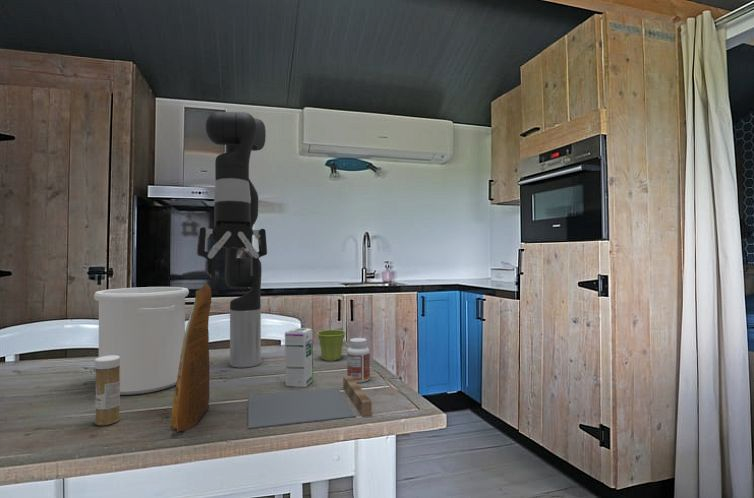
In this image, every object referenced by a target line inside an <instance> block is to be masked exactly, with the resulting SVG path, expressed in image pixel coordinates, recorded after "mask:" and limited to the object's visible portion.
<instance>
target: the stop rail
mask: <svg viewBox="0 0 754 498" xmlns="http://www.w3.org/2000/svg"><path fill="white" fill-rule="evenodd" d="M342 379H343V381H342V382H343V386H342V388H343V390H344V391H345V393H346V394H347V396H348V397H349V399H350V400H351V401H352V403H353V405H354V406H355V408H356V409H357V410H358V412H359V413H360V415H361V416H362V417H369V416H372V413H373V411H372V407H373V405H372V403H373V402H372V401H371V399H370V398H369V396H368V395H367V394H366V393H365V392H364V390H363V389H362V388H361V386H360V385H359V384H358V383H356V382H355V380H354V379H353V378H352V377H351V376H347V375H346V376H342Z"/></svg>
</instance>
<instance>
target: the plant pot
mask: <svg viewBox="0 0 754 498" xmlns="http://www.w3.org/2000/svg"><path fill="white" fill-rule="evenodd" d="M316 335H317V337H318V339H319V345H320V346H319V347H320V351H321V352H320V353H321V359H322V360H324V361H327V362H335V361H336V360H338V361H339V360H341V359H342V352H343V351H342V350H343V344H344V339H345V335H346V331H345V330H341V329H325V330H320V331H318V332H316Z"/></svg>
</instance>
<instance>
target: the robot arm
mask: <svg viewBox="0 0 754 498" xmlns="http://www.w3.org/2000/svg"><path fill="white" fill-rule="evenodd" d="M205 131H206V135H207V137H208V138H209V140H210V141H211V142H212V143H213V144H216V145H221V146H223V145H224V146H225V152H224V153H221V154H218V155H217V156H216V158H215V163H214V164H215V165H214V167H215V174H214V175H215V177H214V178H215V179H214V180H215V183H214V189H213V192H214V193H213V196H214V197H213V198H214V200H213V202H214V204H213V205H214V207H213V211H214V212H213V215H214V217H213V218H214V219H213V220H214V224H213V228H206V227H200V228H199V229H198V233H197V235H198V236H197V250H196V255H197V256H199V257H200V258H201V257H202V258H204V259H206V273H207V275H209V277H210V278H215V277H216V276H215V275H216V266H215V265H216V261H215V260H216V259H214V257H215V256H216V255H217V253H218V252H219V251H220V250H221V248H224V249H226V250H225V264H224V265H225V266H224V281H225V285H226V286H227V287H228V288H249V291H247V292H246V293H245V294H243V295H241V296H239V297H237V298H234V299H231V301H230V303H229V366H230V367H232V368H250V367H251V368H252V367H255V366H258V365H261V363H262V359H261V357H262V356H261V355H262V354H261V351H262V349H261V348H262V347H261V346H262V344H261V341H262V340H261V339H262V338H261V337H262V335H261V333H262V327H261V326H262V323H261V321H262V318H261V317H262V313H261V312H262V311H261V307H262V305H261V300H262V299H261V297H262V295H261V291H262V289H261V287H262V270H263V269H262V262H261V259H260V258H262V257H264V256H266V255H267V254H268V246H267V235H266V232H267V231H266V229H265V228H260V229H253V227H254V225H255V224H256V221H257V220H258V217H259V194H258V192H257V191H258V190H257V189H256V188H255V186H254V184H253V182H252V181H251V180H250V171H249V170H250V159H251V154H252V151H253V152H254V151H255V152H256V151H261V150H262V149H263V148H264V147H265V144H266V133H267V131H266V125H265V123H264V122H263V120H261V119H259V118H255V117H253V115H252V114H250V113H248V112H240V111H239V112H237V111H235V112H233V111H215V112H212V113H210V114H209V115H208V117H207V119H206V121H205ZM211 234H212V236H213V237H214V239H215V240H216V242H215V243H214V245H213V246H212V247H211V248H210V249H209V251H205V250H206V239H209V237H210V235H211ZM253 236H254V238H255V239H256V240H257V243H258V244H257V245H258V251H257V250H256V249H255V247H254V246H253V244H252V243H251V242H250V239H251V238H252V237H253ZM240 249H244V251H245V252H246V253H247V254H248V255H249V257H237V256H238V255H237V254H238V252H239V250H240Z"/></svg>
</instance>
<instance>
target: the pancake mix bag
mask: <svg viewBox="0 0 754 498" xmlns="http://www.w3.org/2000/svg"><path fill="white" fill-rule="evenodd" d="M211 305H212V288H211V286H210V285H209V284H208V283H205V284H203V286H202V287H201V288H200V289H197V290H196V291H195V298H194V303H193V307H192V309H191V312H190V315H189V318H188V321H187V324H186V327H185V335H184V340H183V346H182V351H181V357H180V363H179V369H178V376H177V382H176V385H175V390H174V398H173V404H172V410H171V429H172V430H176V432H177V433H178V432H183V431H185V430H186V431H187V430H190V429H192V428H193V427H196V426H197V425H198V423H199V422H200V420H201V419H202V417H203V416H204V415H205V413H206V412H207V411H208V409H209V407H210V405H209V404H210V374H211V373H210V370H211V369H210V367H211V366H210V350H209V349H210V346H209V344H210V342H209V341H210V338H209V317H210V312H211V311H210V310H211Z"/></svg>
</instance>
